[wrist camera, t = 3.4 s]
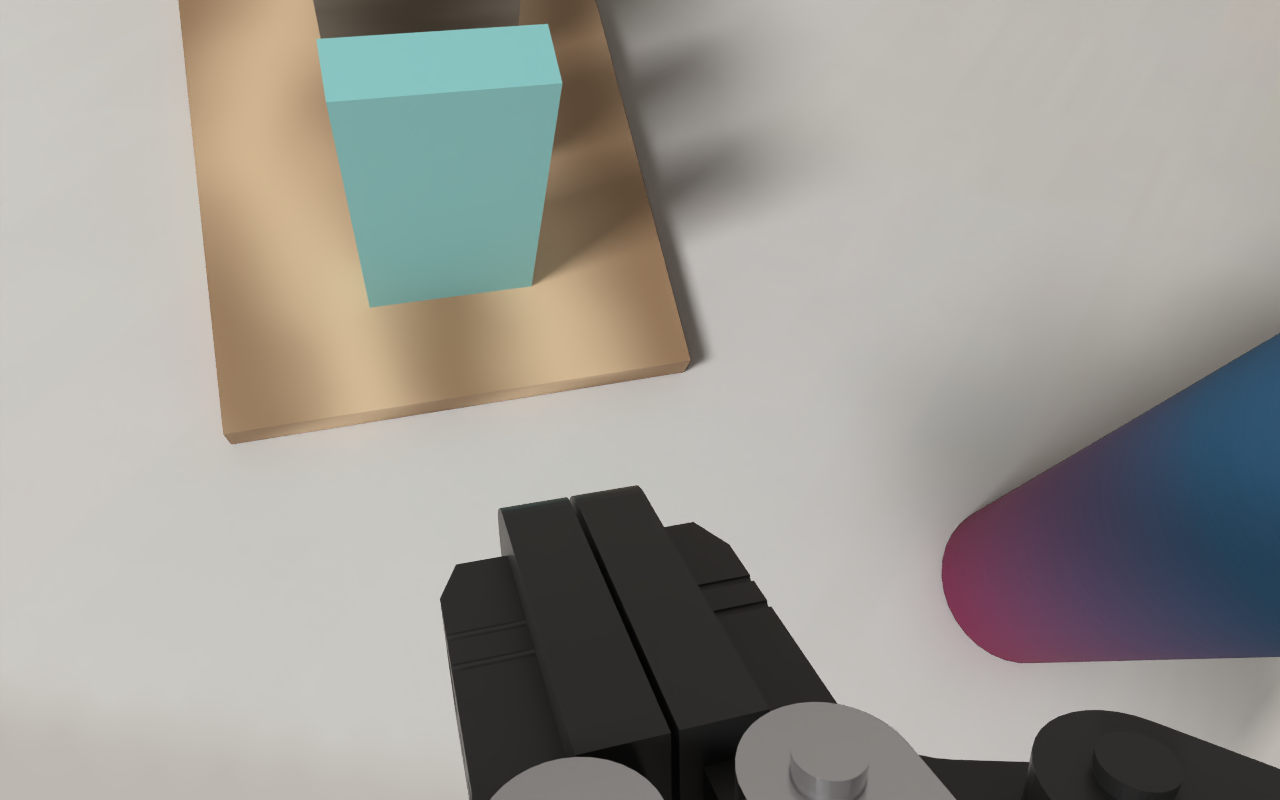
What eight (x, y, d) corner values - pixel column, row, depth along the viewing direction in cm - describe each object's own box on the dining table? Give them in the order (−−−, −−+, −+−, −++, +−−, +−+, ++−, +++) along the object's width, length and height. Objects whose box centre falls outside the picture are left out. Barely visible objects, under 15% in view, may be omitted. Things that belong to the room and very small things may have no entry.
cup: (1003, 441, 32) (1413, 215, 18) (1148, 597, 31) (1698, 482, 17) (872, 568, 30) (1228, 418, 16) (1024, 741, 29) (1546, 741, 15)
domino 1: (498, 131, 32) (513, -121, 22) (507, 172, 31) (525, -68, 22) (344, 145, 31) (292, -114, 21) (351, 188, 30) (301, -58, 21)
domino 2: (522, 242, 30) (548, 23, 21) (531, 286, 30) (562, 83, 21) (362, 261, 29) (316, 39, 20) (369, 307, 29) (325, 102, 20)
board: (536, -196, 38) (537, -219, 37) (683, 371, 31) (690, 360, 30) (164, -193, 35) (155, -218, 34) (231, 444, 28) (223, 434, 27)
